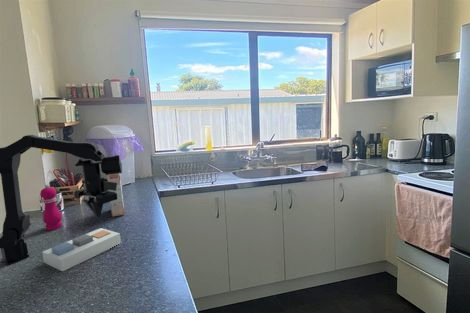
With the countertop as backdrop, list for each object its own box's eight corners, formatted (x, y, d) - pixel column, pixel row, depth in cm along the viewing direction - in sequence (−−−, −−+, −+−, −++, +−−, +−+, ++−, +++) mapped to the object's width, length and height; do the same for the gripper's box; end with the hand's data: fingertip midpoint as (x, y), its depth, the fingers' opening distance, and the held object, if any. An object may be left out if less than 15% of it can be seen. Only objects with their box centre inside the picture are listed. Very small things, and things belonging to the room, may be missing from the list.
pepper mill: (54, 231, 130) (47, 186, 127) (40, 230, 132) (32, 186, 128) (67, 224, 137) (60, 181, 134) (53, 224, 139) (46, 182, 135)
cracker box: (125, 215, 145) (119, 172, 141) (111, 217, 143) (105, 174, 139) (124, 206, 158) (119, 167, 154) (112, 208, 156) (106, 169, 152)
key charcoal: (80, 250, 104) (79, 241, 104) (73, 247, 107) (72, 239, 106) (93, 244, 108) (92, 236, 108) (86, 241, 111) (85, 234, 110)
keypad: (62, 271, 96) (60, 259, 95) (44, 262, 102) (42, 251, 102) (121, 243, 114) (119, 233, 113) (102, 237, 120) (100, 228, 119)
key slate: (60, 259, 98) (58, 250, 98) (52, 256, 101) (51, 247, 101) (74, 252, 102) (73, 244, 102) (67, 249, 105) (65, 241, 105)
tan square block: (99, 245, 110) (98, 237, 110) (92, 242, 113) (91, 235, 112) (111, 239, 114) (110, 232, 114) (103, 237, 117) (102, 230, 116)
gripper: (127, 173, 111) (132, 213, 113) (97, 170, 121) (103, 207, 124) (99, 180, 102) (106, 224, 104) (70, 176, 112) (76, 216, 114)
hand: (98, 217), depth 112 cm, fingers closed
